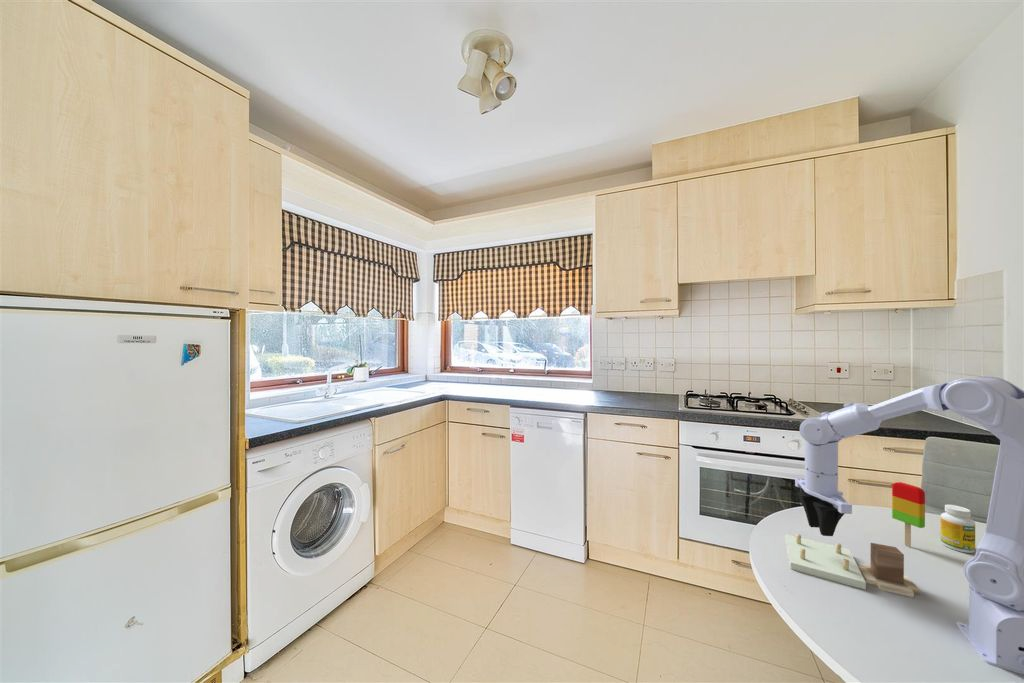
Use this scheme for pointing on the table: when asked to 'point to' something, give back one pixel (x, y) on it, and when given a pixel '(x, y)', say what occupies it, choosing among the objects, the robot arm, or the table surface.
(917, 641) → the table surface
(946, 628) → the table surface
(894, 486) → the popsicle
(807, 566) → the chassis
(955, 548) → the supplement bottle
